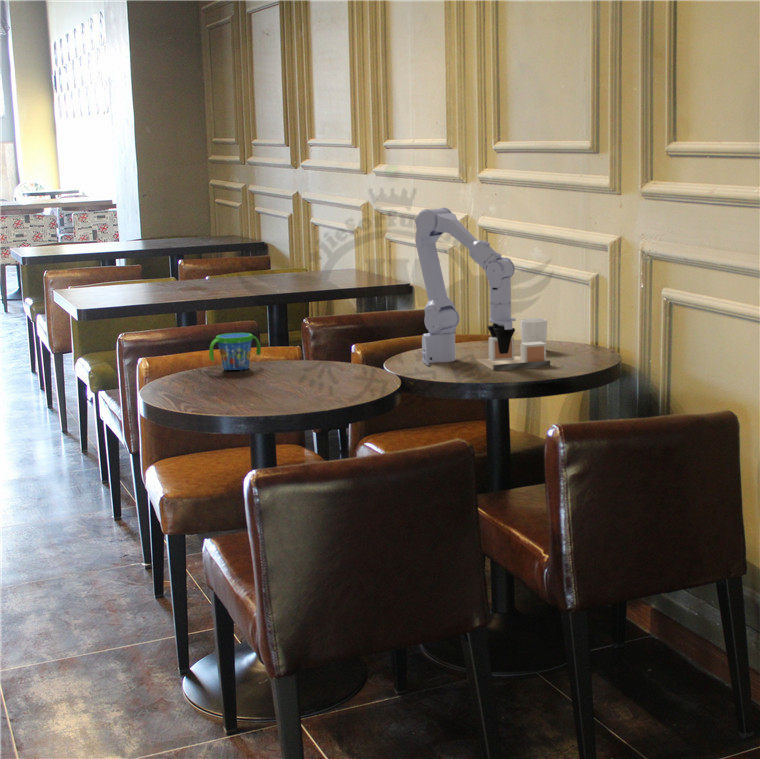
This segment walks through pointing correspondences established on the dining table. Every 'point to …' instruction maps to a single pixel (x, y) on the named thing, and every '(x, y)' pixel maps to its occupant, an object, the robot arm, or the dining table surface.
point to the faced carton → (533, 351)
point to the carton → (495, 353)
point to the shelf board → (512, 364)
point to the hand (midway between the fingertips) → (501, 351)
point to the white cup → (534, 330)
